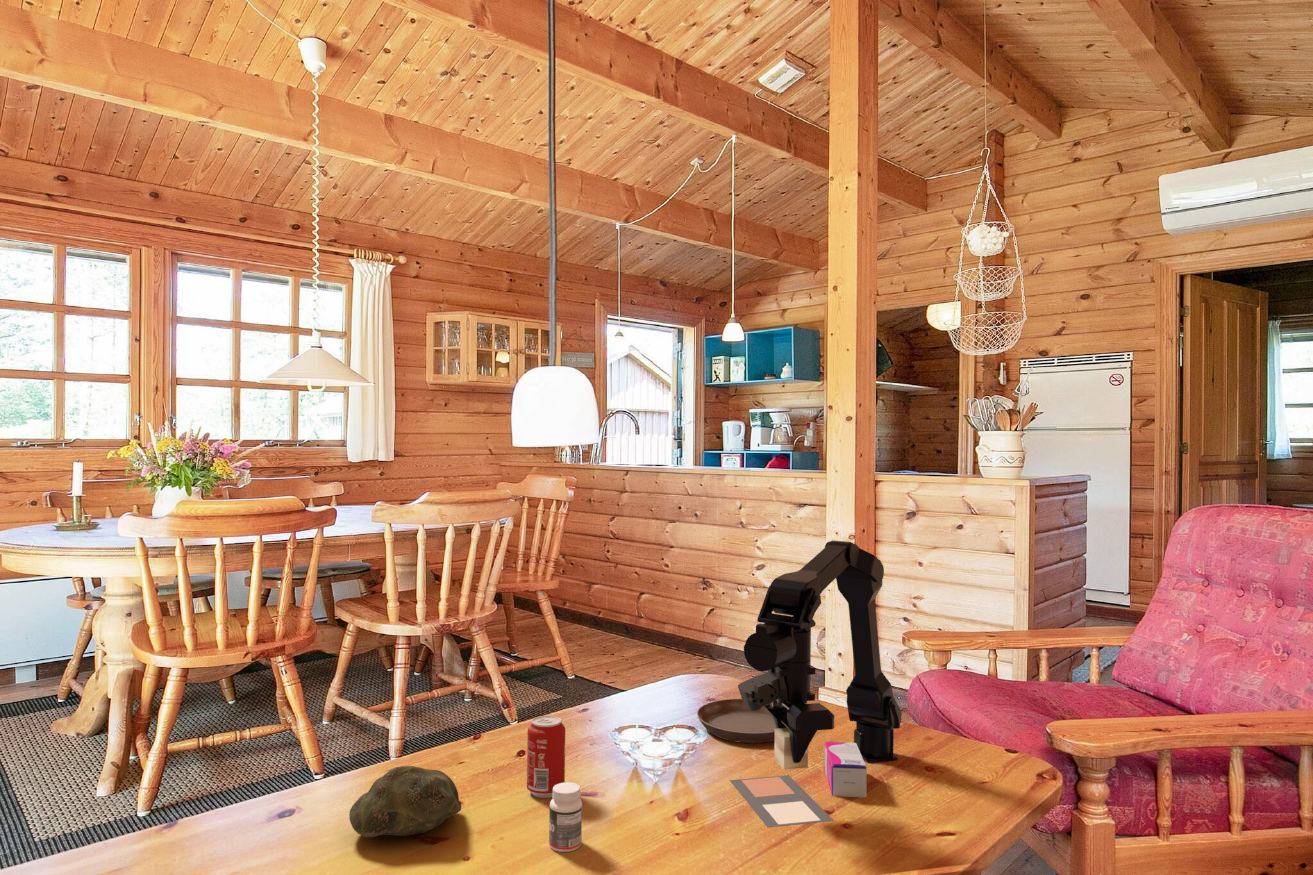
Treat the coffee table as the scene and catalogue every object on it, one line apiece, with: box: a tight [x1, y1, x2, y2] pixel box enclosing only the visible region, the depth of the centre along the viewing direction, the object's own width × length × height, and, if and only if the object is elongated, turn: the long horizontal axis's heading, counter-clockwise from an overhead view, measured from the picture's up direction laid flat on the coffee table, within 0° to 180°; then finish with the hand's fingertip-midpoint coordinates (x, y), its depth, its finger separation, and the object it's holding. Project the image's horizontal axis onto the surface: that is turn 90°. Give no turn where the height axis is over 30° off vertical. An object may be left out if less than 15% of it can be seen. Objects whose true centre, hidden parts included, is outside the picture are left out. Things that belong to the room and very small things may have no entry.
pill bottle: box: [548, 781, 583, 853], centre depth 119 cm, size 5×5×8 cm
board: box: [729, 774, 835, 828], centre depth 134 cm, size 11×18×1 cm, turn 14°
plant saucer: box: [696, 698, 777, 744], centre depth 170 cm, size 21×21×3 cm
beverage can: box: [526, 715, 566, 799], centre depth 137 cm, size 6×6×12 cm
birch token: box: [773, 728, 809, 770], centre depth 129 cm, size 4×4×5 cm
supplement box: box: [824, 741, 868, 798], centre depth 141 cm, size 6×6×12 cm
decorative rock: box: [349, 765, 462, 838], centre depth 123 cm, size 15×16×10 cm
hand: (791, 757), depth 129 cm, fingers closed on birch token, 4 cm apart
